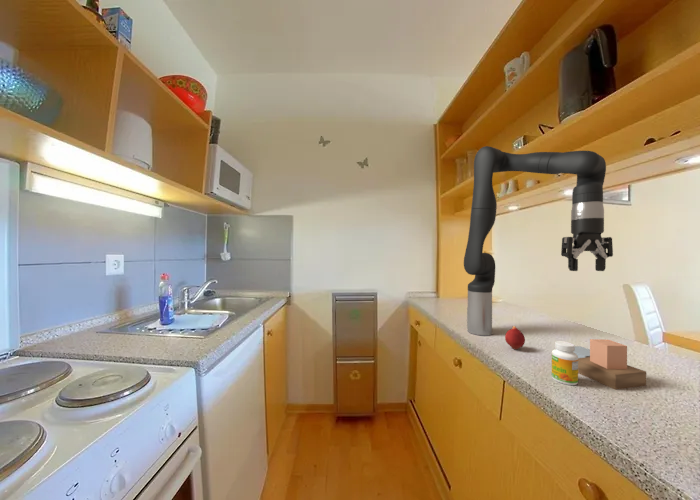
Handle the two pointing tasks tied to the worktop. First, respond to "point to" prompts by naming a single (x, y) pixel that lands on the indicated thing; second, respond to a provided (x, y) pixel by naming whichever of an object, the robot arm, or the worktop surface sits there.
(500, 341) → the worktop surface
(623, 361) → the terracotta block
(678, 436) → the worktop surface
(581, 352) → the slate block
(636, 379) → the walnut block
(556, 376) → the supplement bottle
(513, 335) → the red oval lump
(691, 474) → the worktop surface
